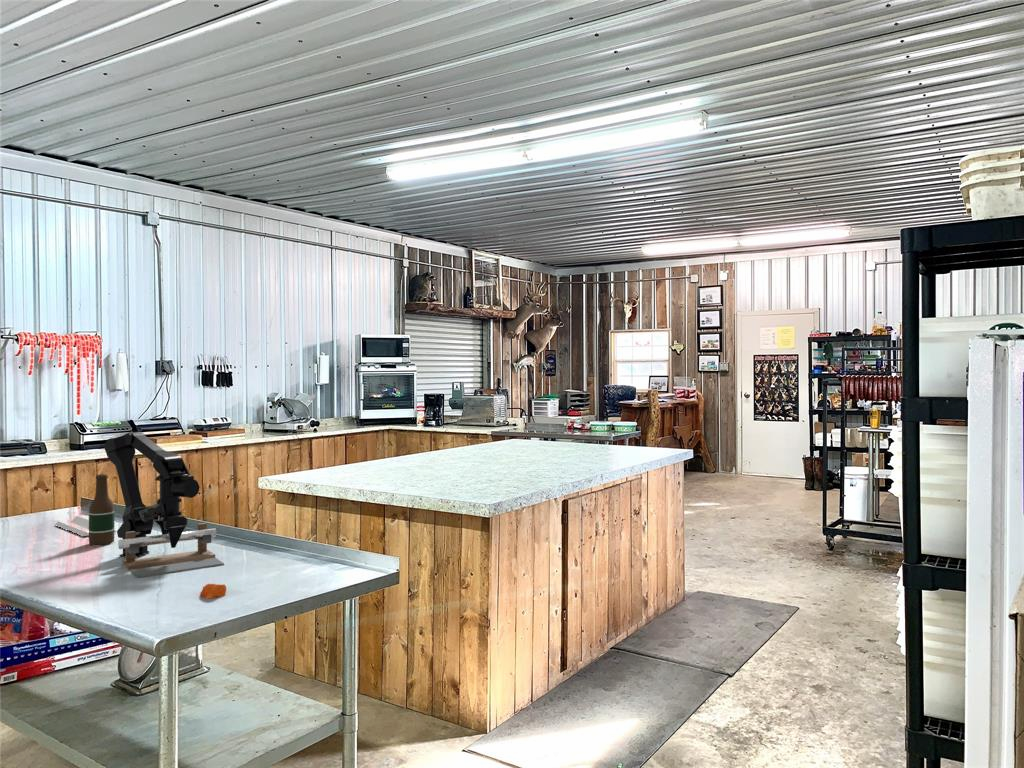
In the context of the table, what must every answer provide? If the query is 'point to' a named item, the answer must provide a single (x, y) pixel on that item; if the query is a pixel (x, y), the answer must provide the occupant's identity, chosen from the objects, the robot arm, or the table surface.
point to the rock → (213, 591)
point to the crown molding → (80, 522)
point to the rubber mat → (176, 567)
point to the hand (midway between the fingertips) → (169, 545)
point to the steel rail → (165, 538)
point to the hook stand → (167, 559)
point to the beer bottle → (101, 514)
